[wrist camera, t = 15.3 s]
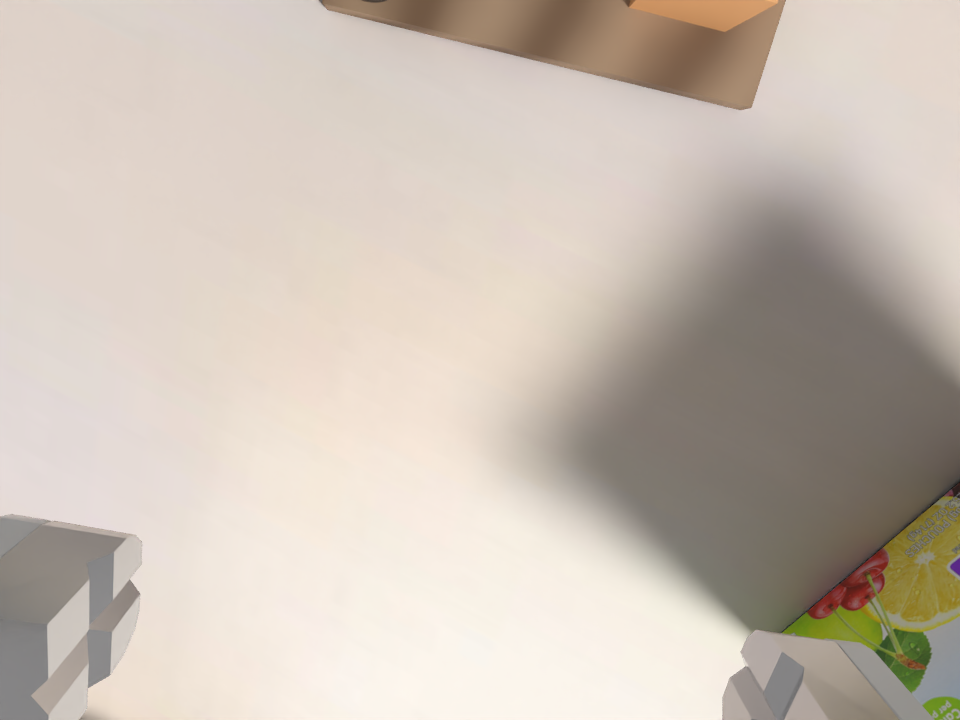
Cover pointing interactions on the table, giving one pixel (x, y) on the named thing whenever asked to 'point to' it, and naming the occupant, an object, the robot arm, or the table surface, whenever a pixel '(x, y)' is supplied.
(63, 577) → the robot arm
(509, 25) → the grey post on board
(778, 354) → the table surface
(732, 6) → the terracotta block
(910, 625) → the snack box
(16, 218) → the table surface
